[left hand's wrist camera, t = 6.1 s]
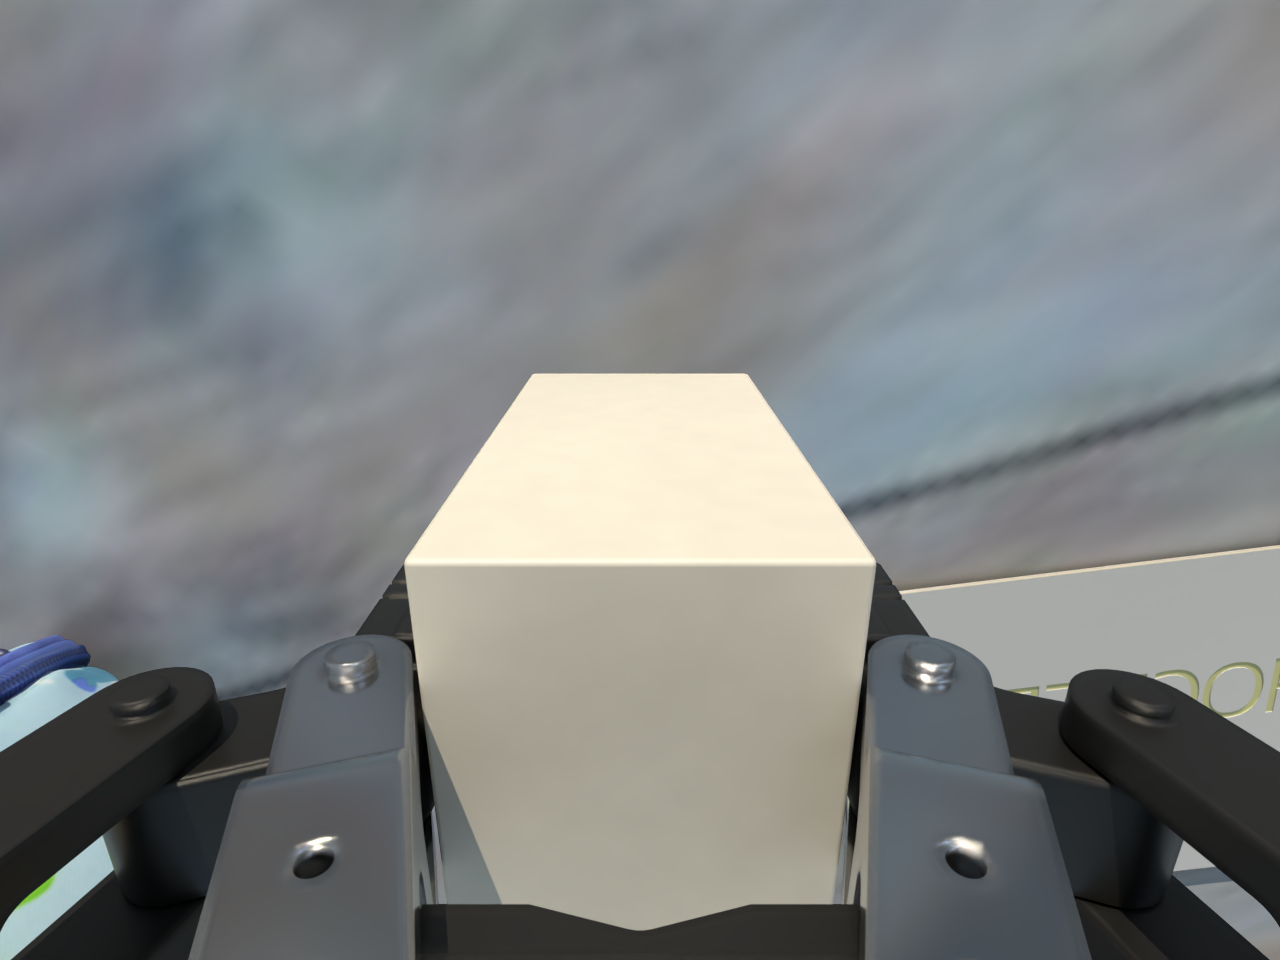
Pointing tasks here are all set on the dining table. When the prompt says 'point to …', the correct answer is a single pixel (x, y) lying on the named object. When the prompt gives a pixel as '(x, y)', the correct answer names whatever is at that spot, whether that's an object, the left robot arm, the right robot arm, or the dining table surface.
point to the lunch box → (10, 710)
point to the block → (640, 655)
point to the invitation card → (1130, 632)
